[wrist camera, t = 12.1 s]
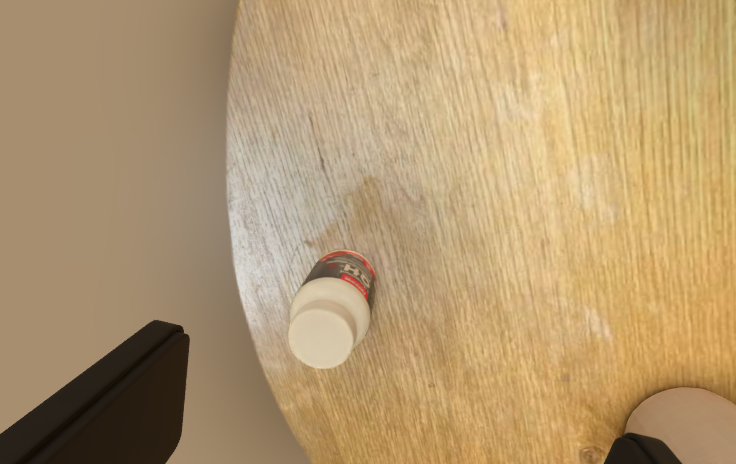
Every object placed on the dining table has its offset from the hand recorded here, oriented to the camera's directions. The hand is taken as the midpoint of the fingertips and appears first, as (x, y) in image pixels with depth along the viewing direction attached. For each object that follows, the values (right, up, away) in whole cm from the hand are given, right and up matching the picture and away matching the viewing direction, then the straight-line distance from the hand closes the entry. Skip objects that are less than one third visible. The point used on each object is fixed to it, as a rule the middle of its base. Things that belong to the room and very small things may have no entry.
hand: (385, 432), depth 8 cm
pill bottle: (-2, +1, +23) cm, 24 cm away
